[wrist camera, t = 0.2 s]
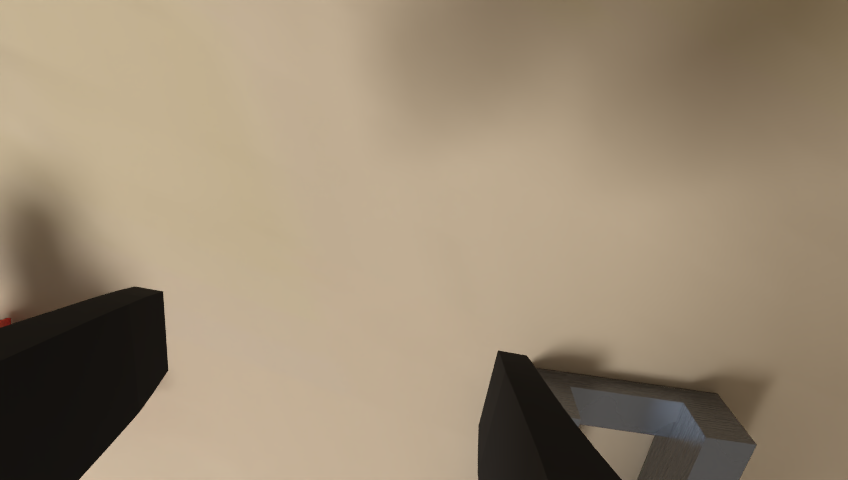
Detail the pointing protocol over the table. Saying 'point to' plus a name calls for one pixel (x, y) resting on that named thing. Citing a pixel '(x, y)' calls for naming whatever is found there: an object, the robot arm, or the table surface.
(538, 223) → the table surface
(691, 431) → the port
